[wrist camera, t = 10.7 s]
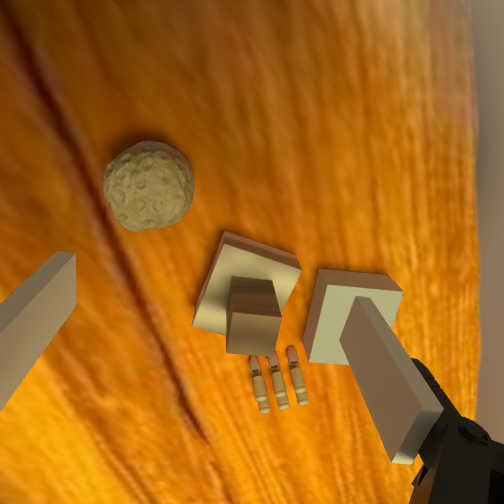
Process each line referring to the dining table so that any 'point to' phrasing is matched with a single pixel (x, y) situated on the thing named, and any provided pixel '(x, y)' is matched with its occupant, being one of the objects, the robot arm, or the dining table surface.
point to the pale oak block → (242, 265)
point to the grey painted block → (343, 309)
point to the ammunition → (278, 382)
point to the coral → (148, 186)
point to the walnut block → (252, 317)
